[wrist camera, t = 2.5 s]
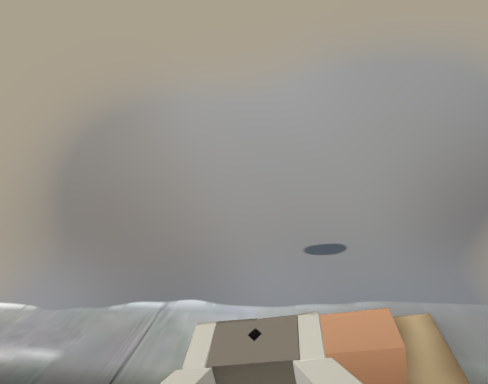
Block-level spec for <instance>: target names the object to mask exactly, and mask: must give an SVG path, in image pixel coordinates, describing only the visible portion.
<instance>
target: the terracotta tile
mask: <svg viewBox="0 0 488 384" xmlns="http://www.w3.org/2000/svg"><path fill="white" fill-rule="evenodd" d="M320 321H321V328H322V334H323V341H324V348H325V355H326V358H333V359H334V360H336V361H337V362H338V363H339V364H340V365H341V366H343V367H344V368H345V369H346V370H347V371H349V372H350V373H351V374H352V375H353V376H354V377H356V378H357V379H358V380H359V381H360V382H361V383H363V384H408V375H407V362H406V348H405V345H404V343H403V340H402V338H401V335H400V333H399V331H398V328H397V326H396V324H395V321H394V319H393V317H392V314H391V312H390V310H389V308H384V309H374V310H364V311H354V312H344V313H334V314H324V315H320Z"/></svg>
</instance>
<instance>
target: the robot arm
mask: <svg viewBox="0 0 488 384" xmlns="http://www.w3.org/2000/svg"><path fill="white" fill-rule="evenodd" d="M160 384H363V383H361V382H360V381H359V380H358V379H357V378H356V377H354V376H353V375H352V374H351V373H350V372H349V371H347V370H346V369H345V368H344V367H343V366H341V365H340V364H339V363H338V362H337V361H336V360H334V359H333V358H326V355H325V348H324V341H323V334H322V328H321V321H320V314H319V312H310V313H303V314H298V315H290V316H281V317H272V318H263V319H245V320H231V321H218V322H207V323H199V324H197V325H196V327H195V330H194V333H193V336H192V339H191V342H190V345H189V348H188V351H187V354H186V358H185V361H184V364H183V367H182V370H175V371H174V372H173V373H172V374H171V375H170V376H169V377H167V378H166V379H165V380H164V381H163V382H162V383H160Z"/></svg>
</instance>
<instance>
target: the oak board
mask: <svg viewBox="0 0 488 384" xmlns="http://www.w3.org/2000/svg"><path fill="white" fill-rule="evenodd" d="M393 319H394V321H395V324H396V326H397V328H398V331H399V333H400V335H401V338H402V340H403V343H404V345H405V348H406V362H407V375H408V384H469V382H468V380H467V378H466V377H465V375H464V373H463V371H462V370H461V368H460V366H459V364H458V363H457V361H456V359H455V357H454V356H453V354H452V352H451V350H450V349H449V347H448V345H447V343H446V342H445V340H444V338H443V336H442V335H441V333H440V331H439V329H438V328H437V326H436V324H435V322H434V321H433V319H432V317H431V315H430V314H419V315H409V316H399V317H393Z"/></svg>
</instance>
